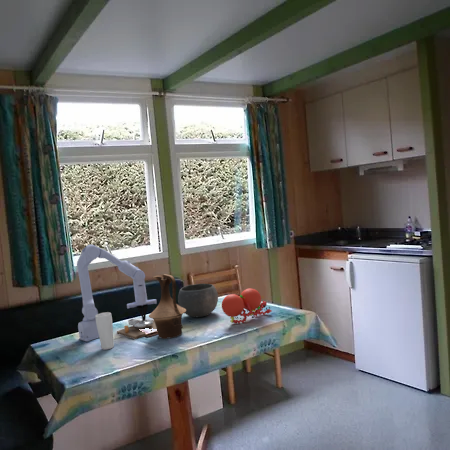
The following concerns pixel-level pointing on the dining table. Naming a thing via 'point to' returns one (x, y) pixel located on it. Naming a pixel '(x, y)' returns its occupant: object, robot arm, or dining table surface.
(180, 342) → the dining table surface
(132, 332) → the board
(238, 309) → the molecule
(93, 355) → the dining table surface
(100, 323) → the drinking glass
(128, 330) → the dowel
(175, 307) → the pitcher
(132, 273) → the robot arm
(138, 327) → the flange
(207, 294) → the bowl
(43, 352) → the dining table surface
